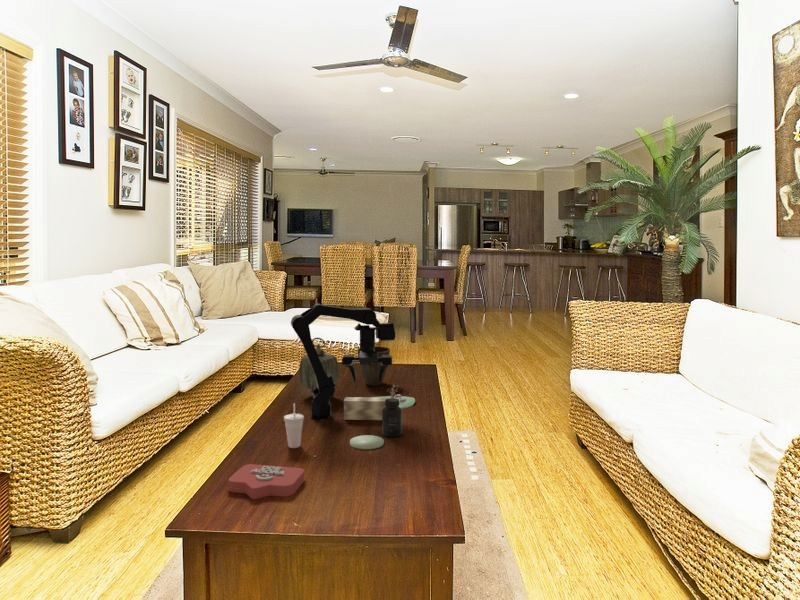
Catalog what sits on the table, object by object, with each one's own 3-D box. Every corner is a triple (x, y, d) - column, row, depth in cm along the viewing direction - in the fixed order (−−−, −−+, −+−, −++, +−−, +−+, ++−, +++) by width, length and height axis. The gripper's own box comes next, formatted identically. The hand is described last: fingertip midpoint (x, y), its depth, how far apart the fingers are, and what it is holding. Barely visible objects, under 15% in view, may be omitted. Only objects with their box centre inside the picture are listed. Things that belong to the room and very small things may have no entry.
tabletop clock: (338, 396, 241) (338, 338, 239) (324, 401, 234) (324, 341, 231) (312, 391, 249) (311, 334, 247) (297, 396, 242) (297, 337, 239)
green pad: (348, 449, 181) (348, 446, 181) (351, 437, 192) (351, 435, 192) (383, 449, 181) (383, 447, 181) (384, 437, 192) (384, 435, 192)
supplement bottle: (405, 432, 197) (405, 398, 196) (396, 439, 191) (397, 403, 190) (387, 429, 200) (387, 396, 199) (378, 435, 194) (378, 401, 193)
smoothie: (287, 450, 180) (286, 407, 178) (281, 444, 185) (280, 401, 184) (307, 447, 182) (306, 404, 181) (300, 441, 188) (300, 399, 187)
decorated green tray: (352, 410, 224) (352, 388, 223) (355, 396, 244) (355, 375, 243) (416, 410, 224) (416, 388, 224) (413, 396, 245) (414, 375, 244)
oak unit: (343, 419, 211) (343, 400, 210) (345, 415, 216) (345, 396, 216) (387, 420, 211) (387, 401, 210) (387, 415, 216) (388, 397, 216)
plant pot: (353, 386, 258) (353, 351, 256) (361, 379, 273) (361, 345, 271) (386, 388, 256) (386, 353, 254) (392, 380, 270) (392, 347, 269)
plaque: (220, 483, 147) (245, 461, 162) (220, 497, 148) (245, 474, 162) (286, 489, 144) (306, 466, 159) (286, 503, 145) (306, 479, 159)
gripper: (339, 345, 209) (340, 387, 210) (391, 345, 208) (391, 387, 210) (343, 339, 220) (343, 380, 221) (392, 340, 219) (392, 380, 221)
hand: (367, 382), depth 218 cm, fingers open, 9 cm apart
